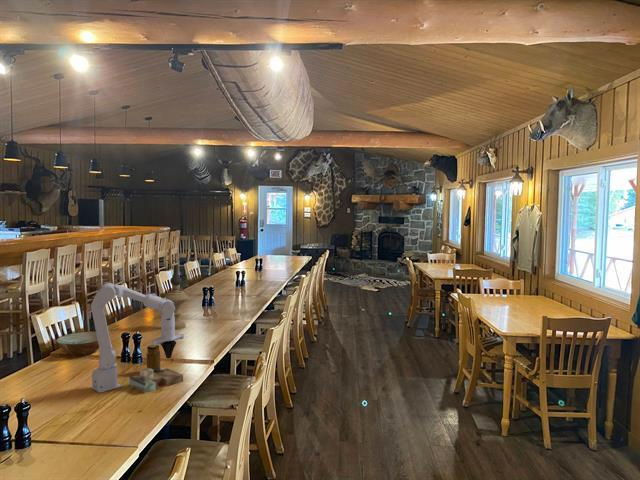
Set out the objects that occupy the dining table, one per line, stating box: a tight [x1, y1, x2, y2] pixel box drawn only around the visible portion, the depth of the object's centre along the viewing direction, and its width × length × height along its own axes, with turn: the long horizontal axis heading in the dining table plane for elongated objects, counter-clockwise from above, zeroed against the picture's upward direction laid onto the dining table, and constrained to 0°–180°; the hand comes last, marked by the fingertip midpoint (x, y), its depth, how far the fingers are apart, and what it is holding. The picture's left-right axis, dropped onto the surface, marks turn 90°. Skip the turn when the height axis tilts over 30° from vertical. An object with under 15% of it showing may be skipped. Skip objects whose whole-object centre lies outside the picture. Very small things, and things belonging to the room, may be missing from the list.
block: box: [139, 367, 154, 381], centre depth 205 cm, size 4×4×4 cm
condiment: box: [146, 344, 167, 374], centre depth 224 cm, size 7×8×12 cm
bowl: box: [55, 330, 99, 356], centre depth 254 cm, size 25×25×8 cm
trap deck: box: [128, 367, 184, 394], centre depth 208 cm, size 18×13×4 cm
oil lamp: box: [163, 264, 189, 331], centre depth 306 cm, size 15×15×40 cm
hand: (168, 357), depth 212 cm, fingers closed
